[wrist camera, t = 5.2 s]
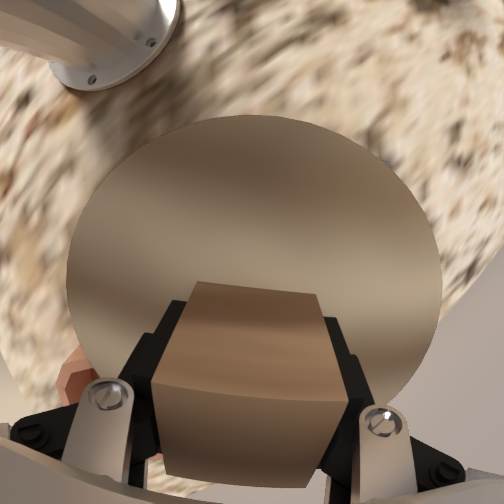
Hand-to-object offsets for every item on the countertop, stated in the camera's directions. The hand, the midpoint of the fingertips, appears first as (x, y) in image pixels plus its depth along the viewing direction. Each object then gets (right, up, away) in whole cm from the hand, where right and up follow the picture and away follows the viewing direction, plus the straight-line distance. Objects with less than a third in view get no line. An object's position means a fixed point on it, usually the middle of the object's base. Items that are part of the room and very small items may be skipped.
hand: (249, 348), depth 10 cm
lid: (0, +1, +2) cm, 2 cm away
